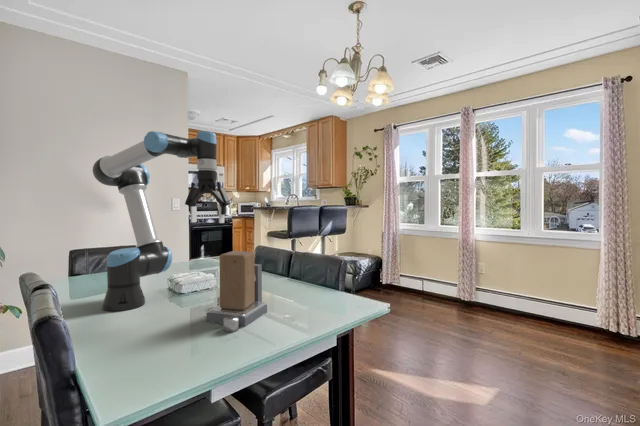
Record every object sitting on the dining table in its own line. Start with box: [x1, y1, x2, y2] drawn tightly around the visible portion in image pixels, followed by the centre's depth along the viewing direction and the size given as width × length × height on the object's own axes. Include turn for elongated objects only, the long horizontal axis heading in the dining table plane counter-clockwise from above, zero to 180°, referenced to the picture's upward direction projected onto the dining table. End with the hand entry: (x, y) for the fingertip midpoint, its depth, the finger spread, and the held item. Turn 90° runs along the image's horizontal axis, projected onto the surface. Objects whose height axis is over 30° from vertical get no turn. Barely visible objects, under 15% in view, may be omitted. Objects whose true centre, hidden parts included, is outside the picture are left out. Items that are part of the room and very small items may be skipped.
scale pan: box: [208, 301, 266, 317], centre depth 124 cm, size 15×15×4 cm
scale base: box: [206, 263, 268, 328], centre depth 125 cm, size 16×19×18 cm
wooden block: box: [219, 250, 255, 310], centre depth 123 cm, size 10×10×20 cm
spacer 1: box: [216, 296, 220, 306], centre depth 135 cm, size 5×5×4 cm
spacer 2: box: [222, 316, 240, 334], centre depth 111 cm, size 5×5×4 cm
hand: (207, 222), depth 134 cm, fingers open, 13 cm apart
